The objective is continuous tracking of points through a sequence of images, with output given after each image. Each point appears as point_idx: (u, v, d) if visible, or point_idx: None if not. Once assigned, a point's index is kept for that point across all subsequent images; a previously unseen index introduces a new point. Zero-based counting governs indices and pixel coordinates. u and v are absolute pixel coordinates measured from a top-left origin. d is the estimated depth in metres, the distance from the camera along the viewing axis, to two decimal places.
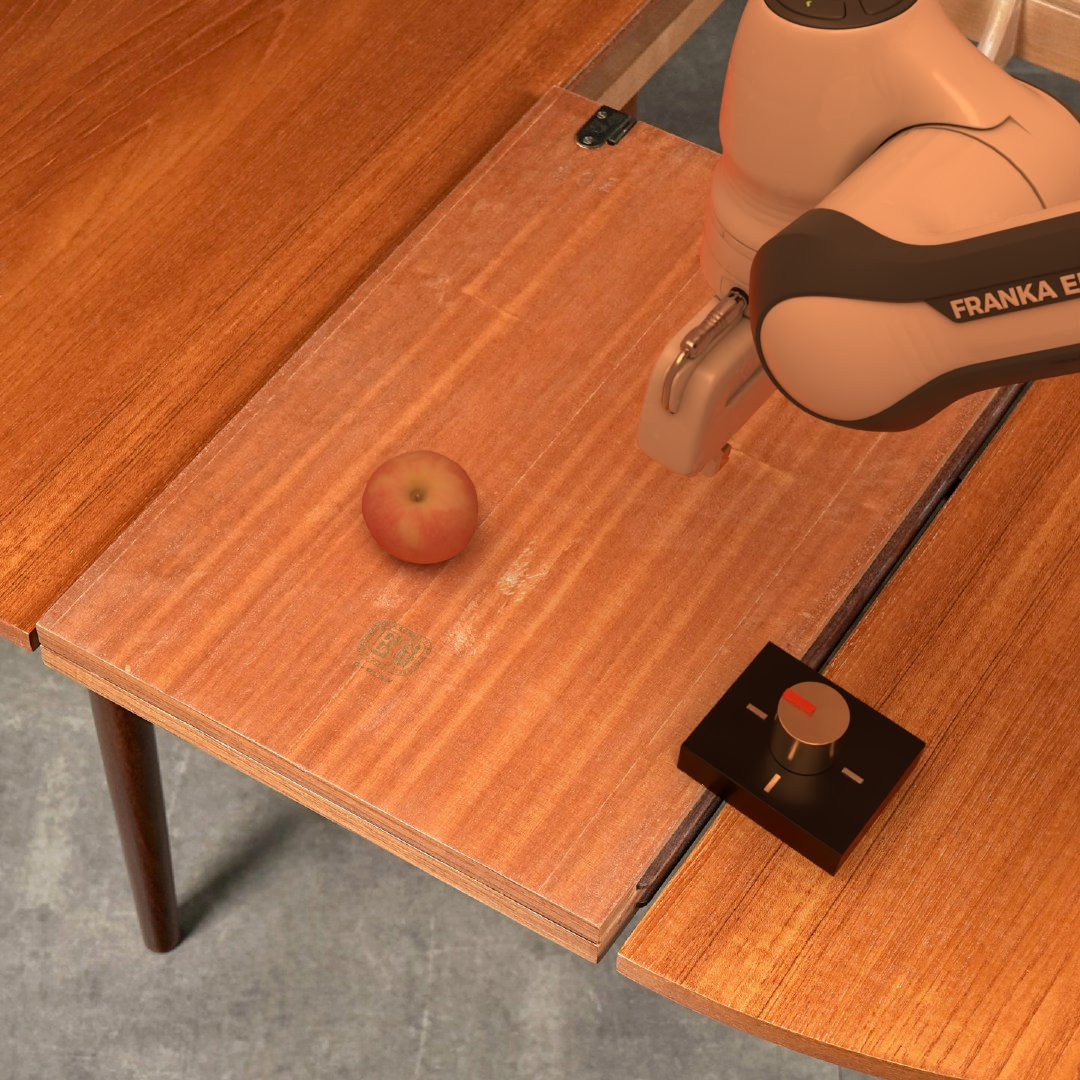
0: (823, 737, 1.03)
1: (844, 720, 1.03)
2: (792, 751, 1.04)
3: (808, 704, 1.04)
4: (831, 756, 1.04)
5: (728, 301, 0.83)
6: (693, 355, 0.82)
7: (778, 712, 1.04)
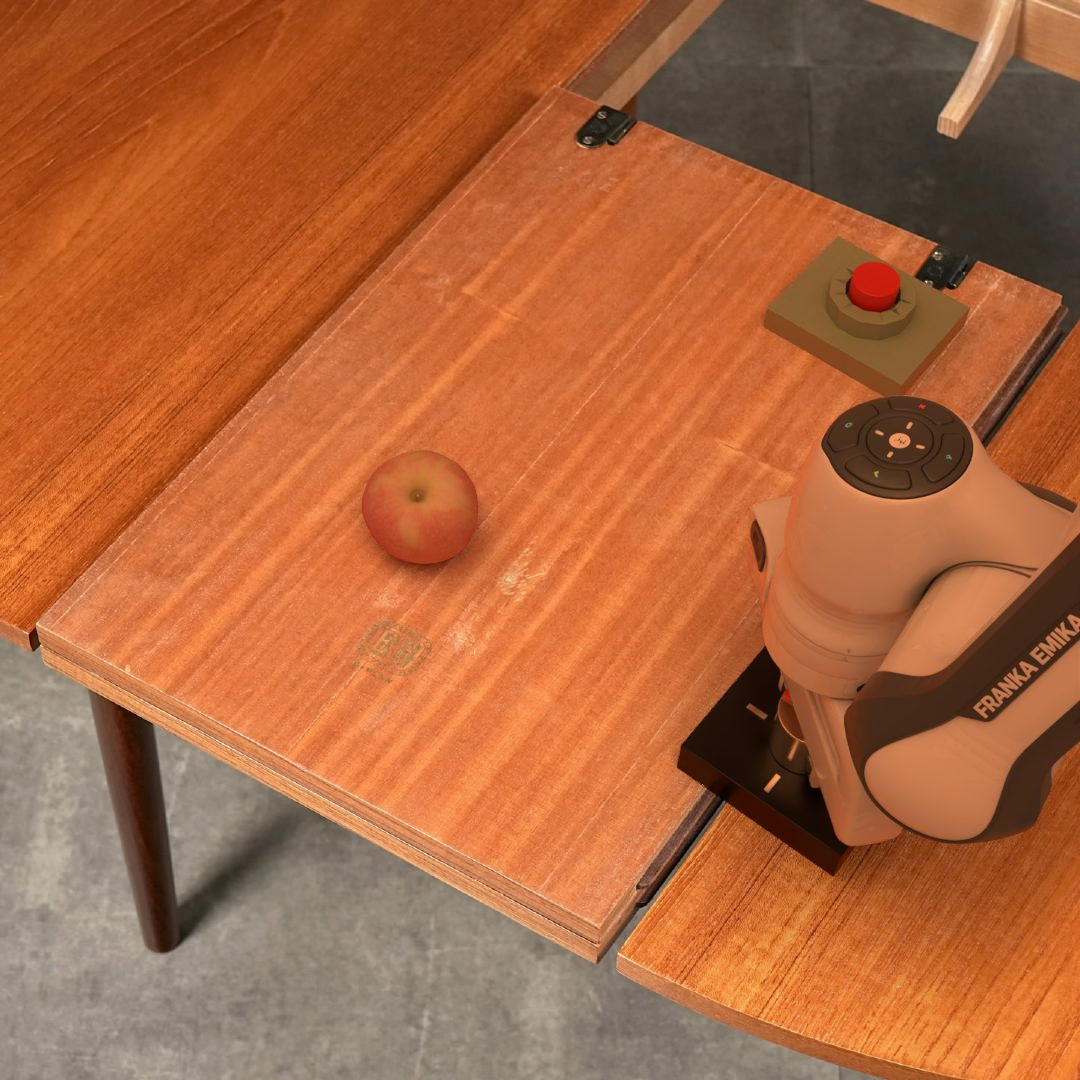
0: None
1: None
2: (792, 751, 1.04)
3: None
4: None
5: None
6: None
7: (778, 712, 1.04)
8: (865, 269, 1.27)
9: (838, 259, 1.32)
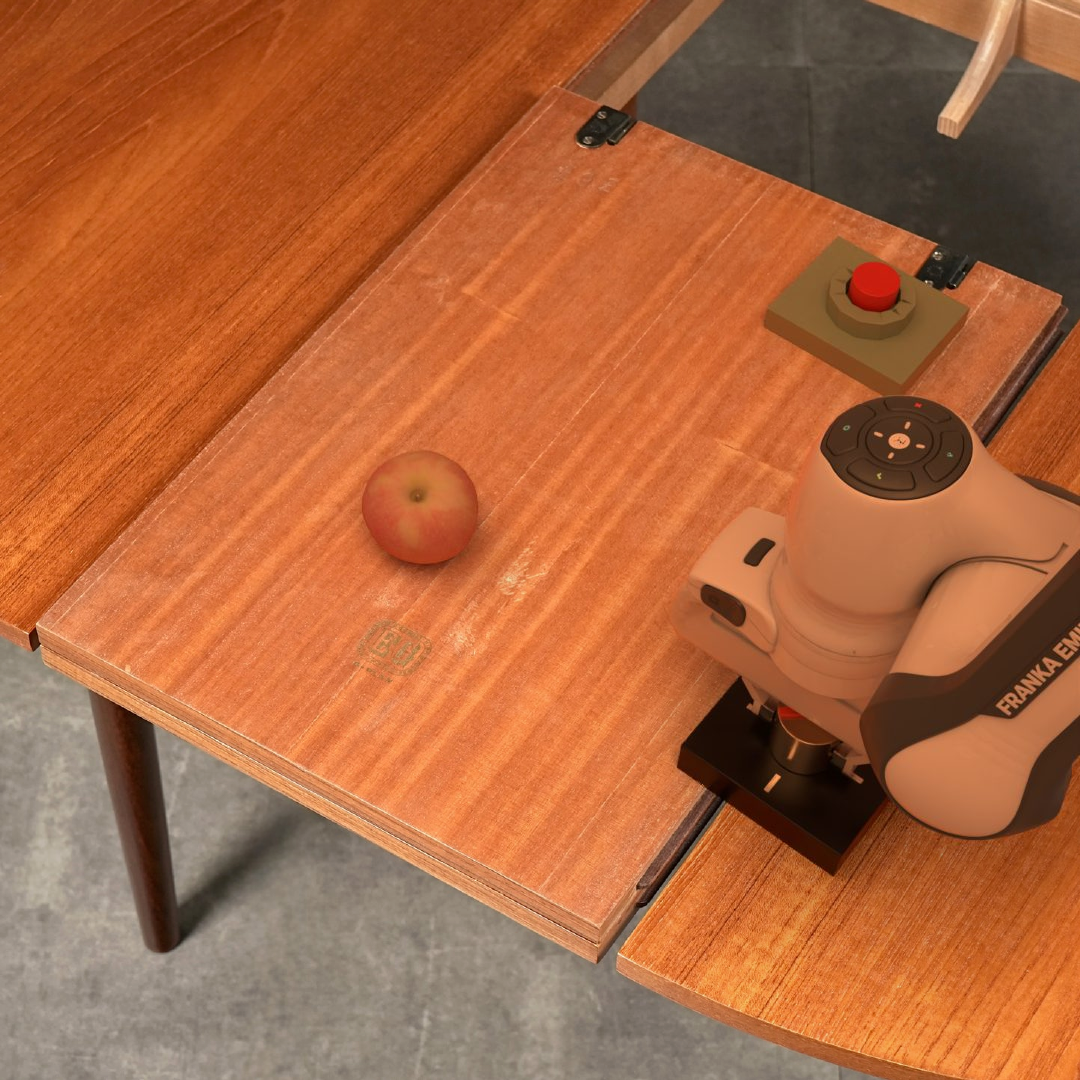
0: None
1: None
2: (816, 757, 1.04)
3: None
4: None
5: None
6: None
7: (788, 732, 1.03)
8: (865, 269, 1.27)
9: (838, 259, 1.32)
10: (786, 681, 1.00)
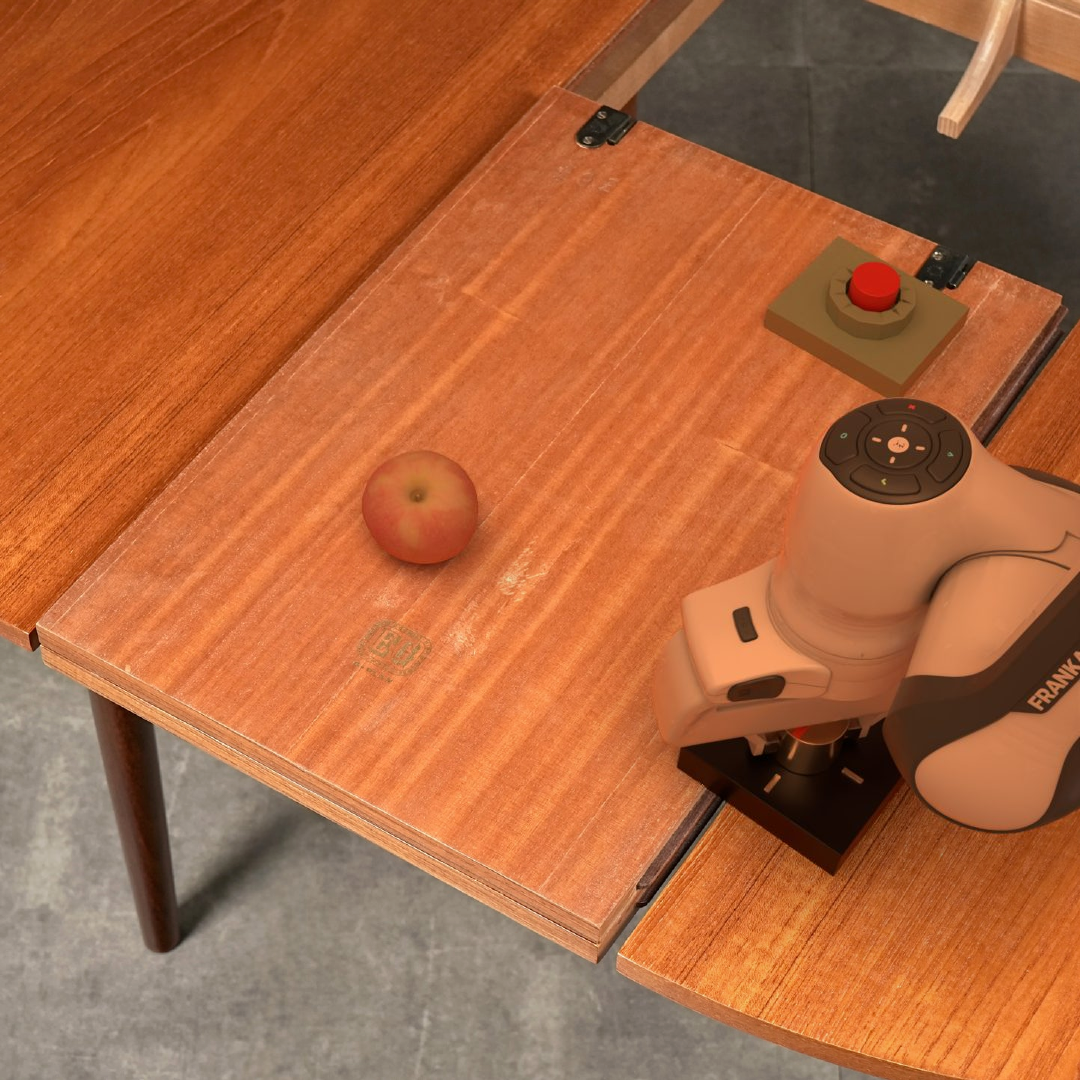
0: None
1: None
2: (841, 743, 1.04)
3: None
4: None
5: None
6: None
7: (817, 744, 1.02)
8: (865, 269, 1.27)
9: (838, 259, 1.32)
10: (807, 707, 0.99)
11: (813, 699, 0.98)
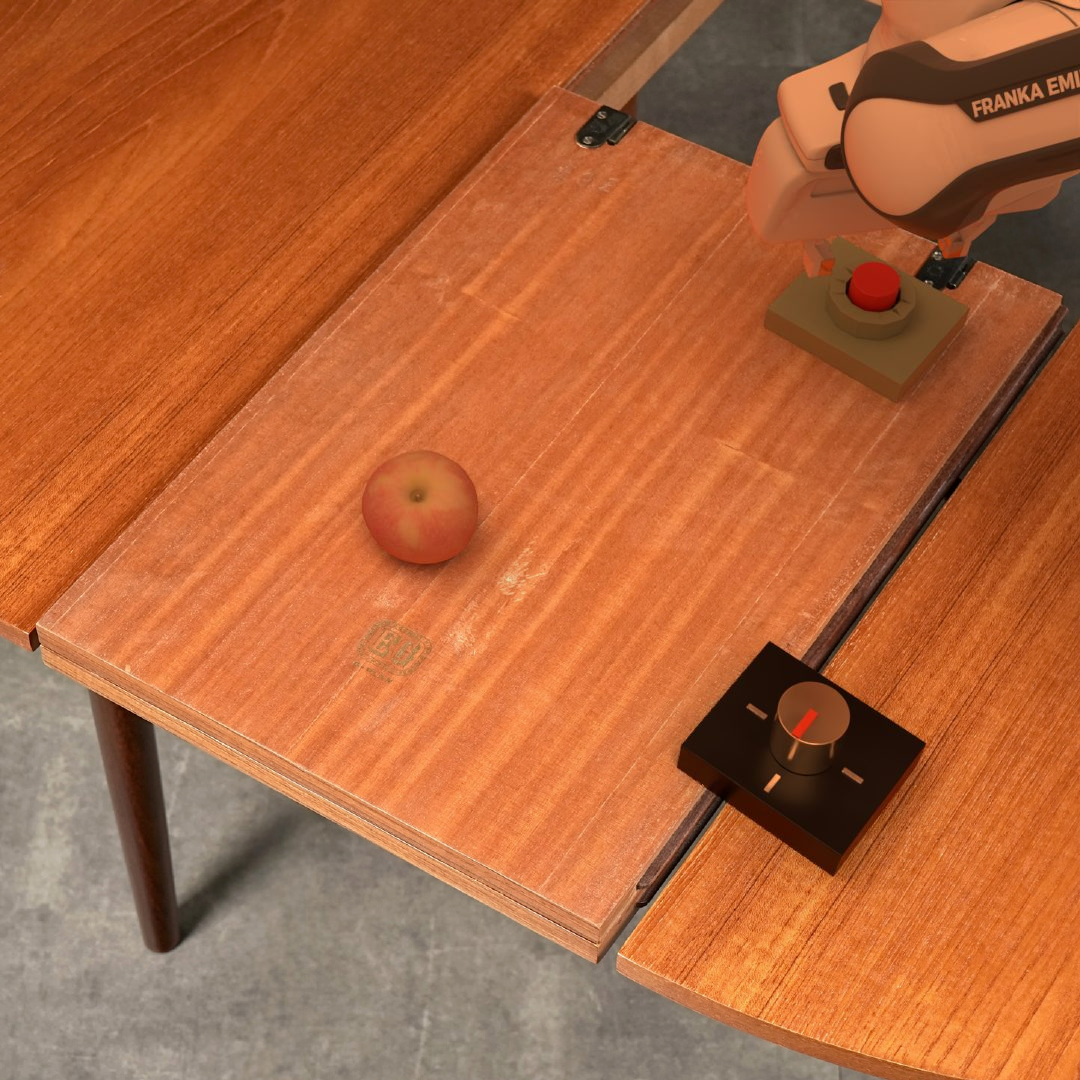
0: (840, 706, 1.04)
1: (819, 686, 1.05)
2: (841, 743, 1.04)
3: (808, 715, 1.03)
4: None
5: None
6: None
7: (817, 744, 1.02)
8: (865, 269, 1.27)
9: (838, 259, 1.32)
10: None
11: None
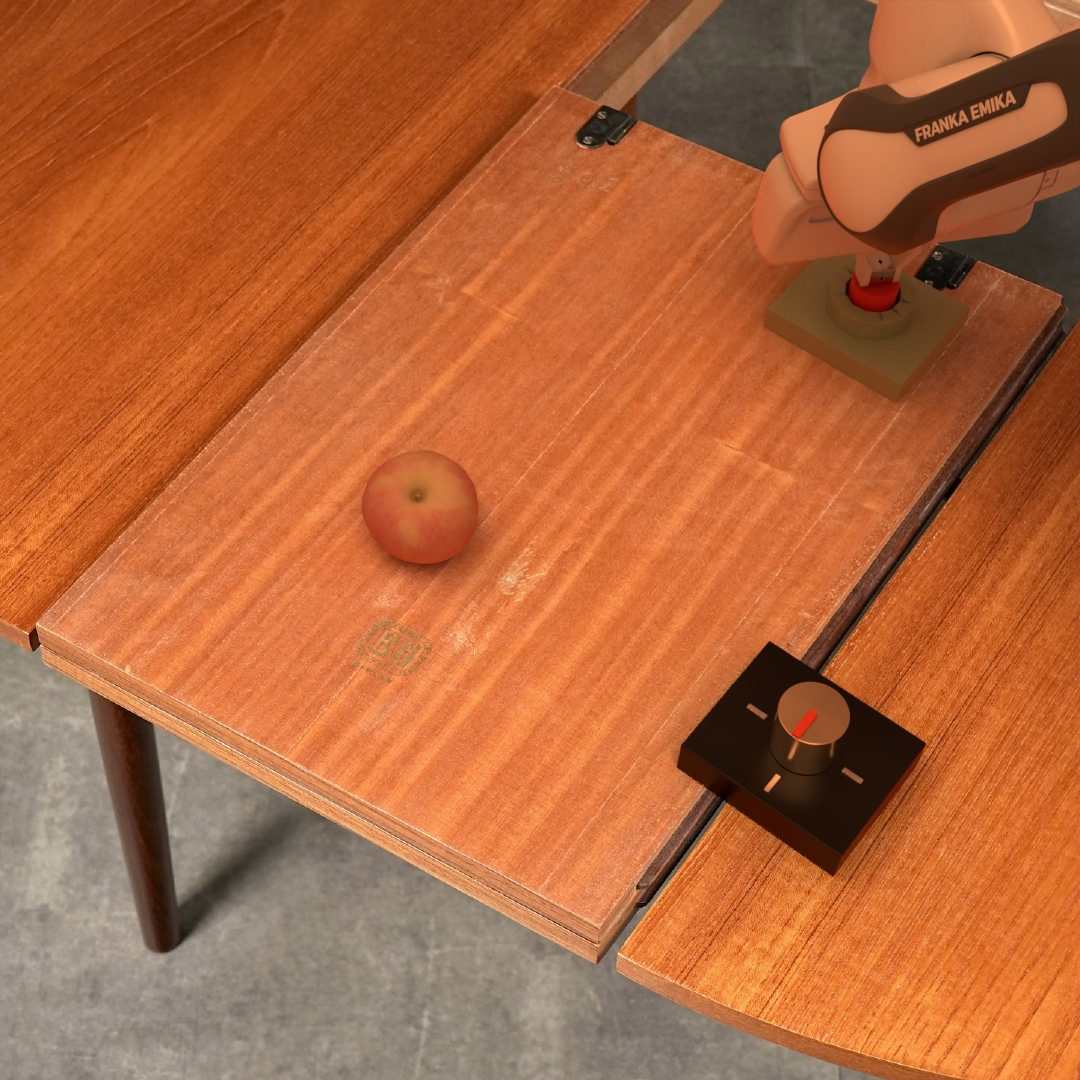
0: (840, 706, 1.04)
1: (819, 686, 1.05)
2: (841, 743, 1.04)
3: (808, 715, 1.03)
4: None
5: None
6: None
7: (817, 744, 1.02)
8: None
9: (838, 259, 1.32)
10: None
11: None
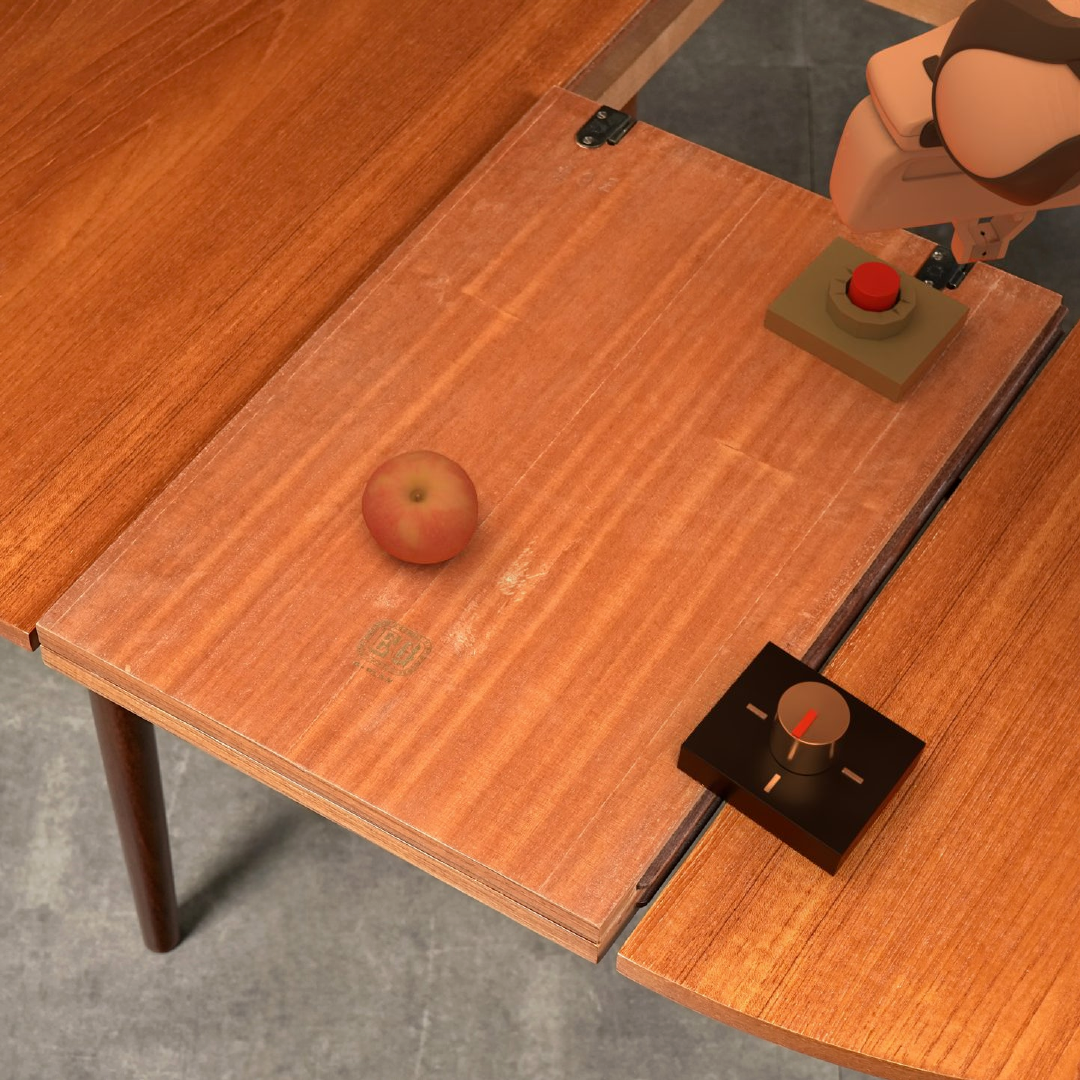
0: (840, 706, 1.04)
1: (819, 686, 1.05)
2: (841, 743, 1.04)
3: (808, 715, 1.03)
4: None
5: None
6: None
7: (817, 744, 1.02)
8: (865, 269, 1.27)
9: (838, 259, 1.32)
10: None
11: None
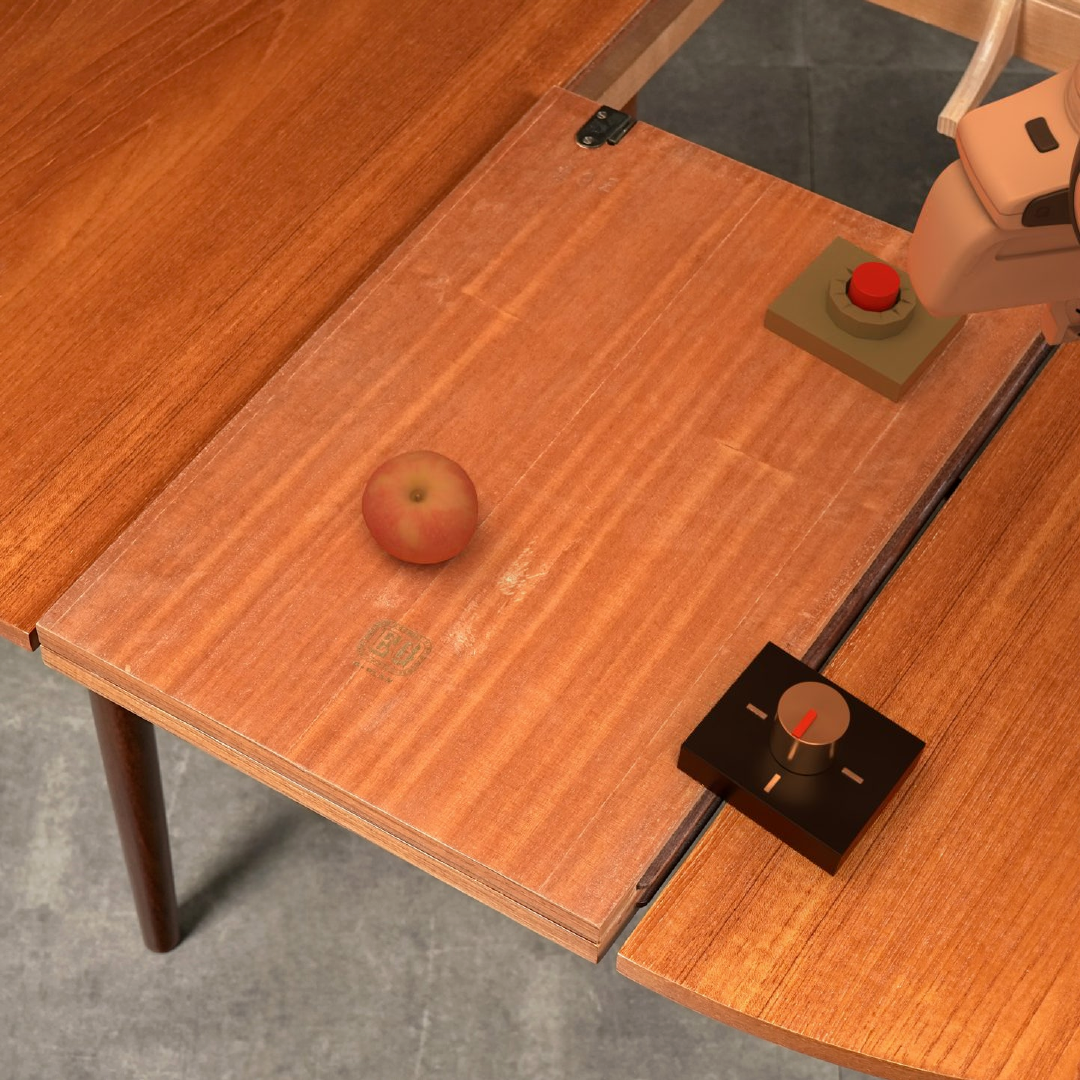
0: (840, 706, 1.04)
1: (819, 686, 1.05)
2: (841, 743, 1.04)
3: (808, 715, 1.03)
4: None
5: None
6: None
7: (817, 744, 1.02)
8: (865, 269, 1.27)
9: (838, 259, 1.32)
10: None
11: None
